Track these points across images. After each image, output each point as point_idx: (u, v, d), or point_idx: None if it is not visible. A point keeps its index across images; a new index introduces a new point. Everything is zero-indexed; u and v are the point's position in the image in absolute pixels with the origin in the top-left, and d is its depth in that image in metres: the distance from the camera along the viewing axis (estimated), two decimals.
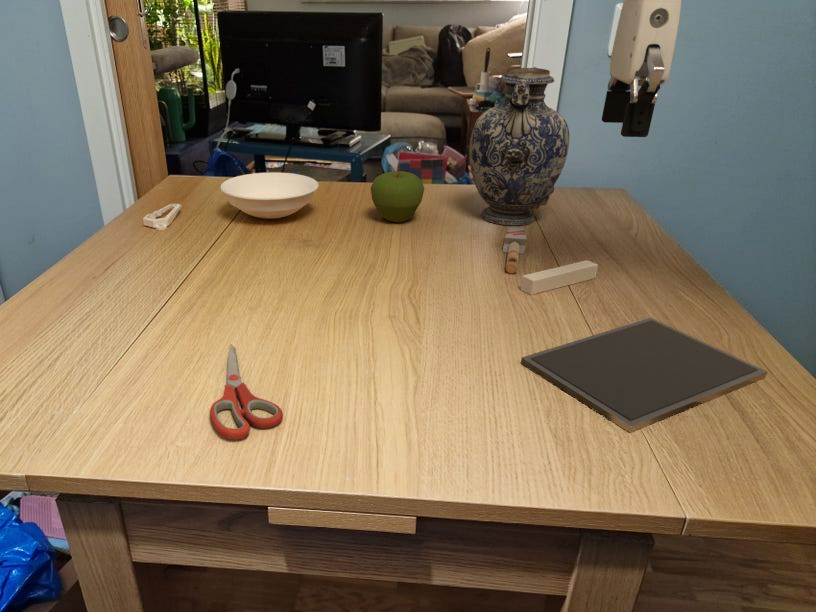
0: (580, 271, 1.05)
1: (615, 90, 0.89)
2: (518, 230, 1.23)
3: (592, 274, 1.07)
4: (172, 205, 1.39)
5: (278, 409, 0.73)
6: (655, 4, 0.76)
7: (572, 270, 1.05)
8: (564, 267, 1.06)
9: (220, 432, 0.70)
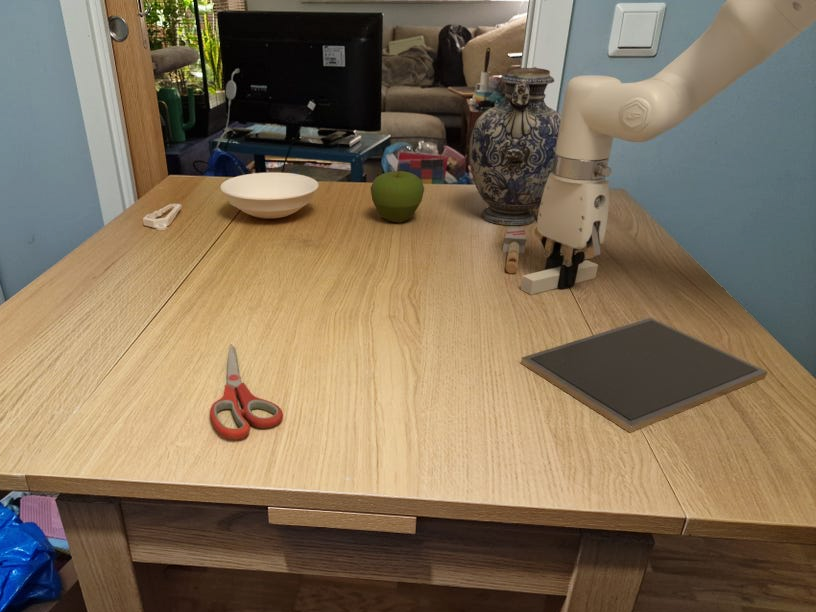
0: (580, 271, 1.05)
1: (553, 257, 1.05)
2: (518, 230, 1.23)
3: (592, 274, 1.07)
4: (172, 205, 1.39)
5: (278, 409, 0.73)
6: (597, 192, 0.94)
7: None
8: None
9: (220, 432, 0.70)
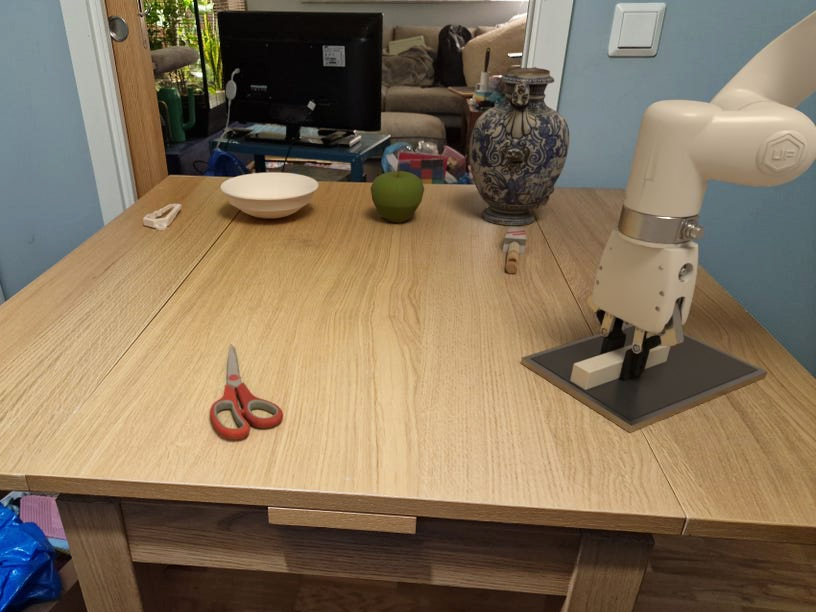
0: (648, 355, 0.80)
1: (613, 337, 0.79)
2: (518, 230, 1.23)
3: (663, 357, 0.82)
4: (172, 205, 1.39)
5: (278, 409, 0.73)
6: (683, 260, 0.69)
7: None
8: None
9: (220, 432, 0.70)
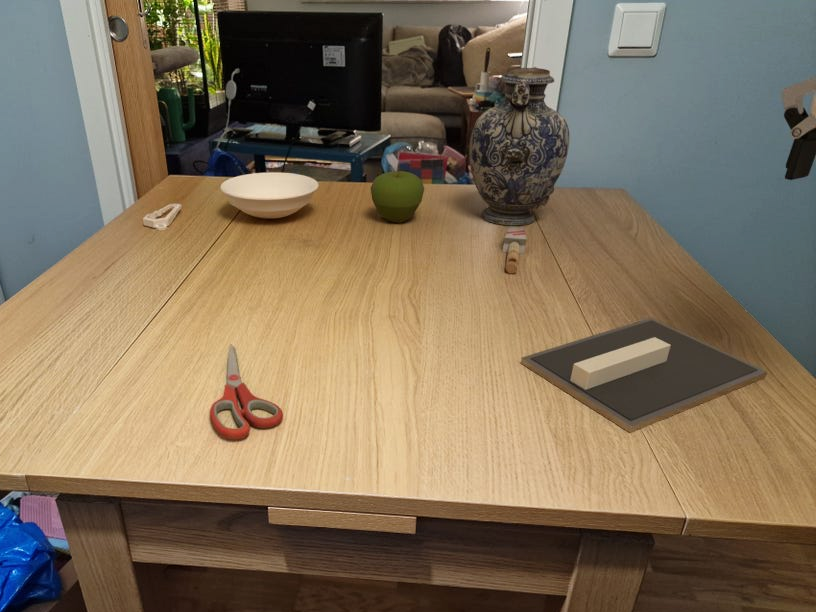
0: (648, 355, 0.80)
1: (808, 138, 0.67)
2: (518, 230, 1.23)
3: (663, 357, 0.82)
4: (172, 205, 1.39)
5: (278, 409, 0.73)
6: None
7: (639, 354, 0.79)
8: (627, 350, 0.80)
9: (220, 432, 0.70)
